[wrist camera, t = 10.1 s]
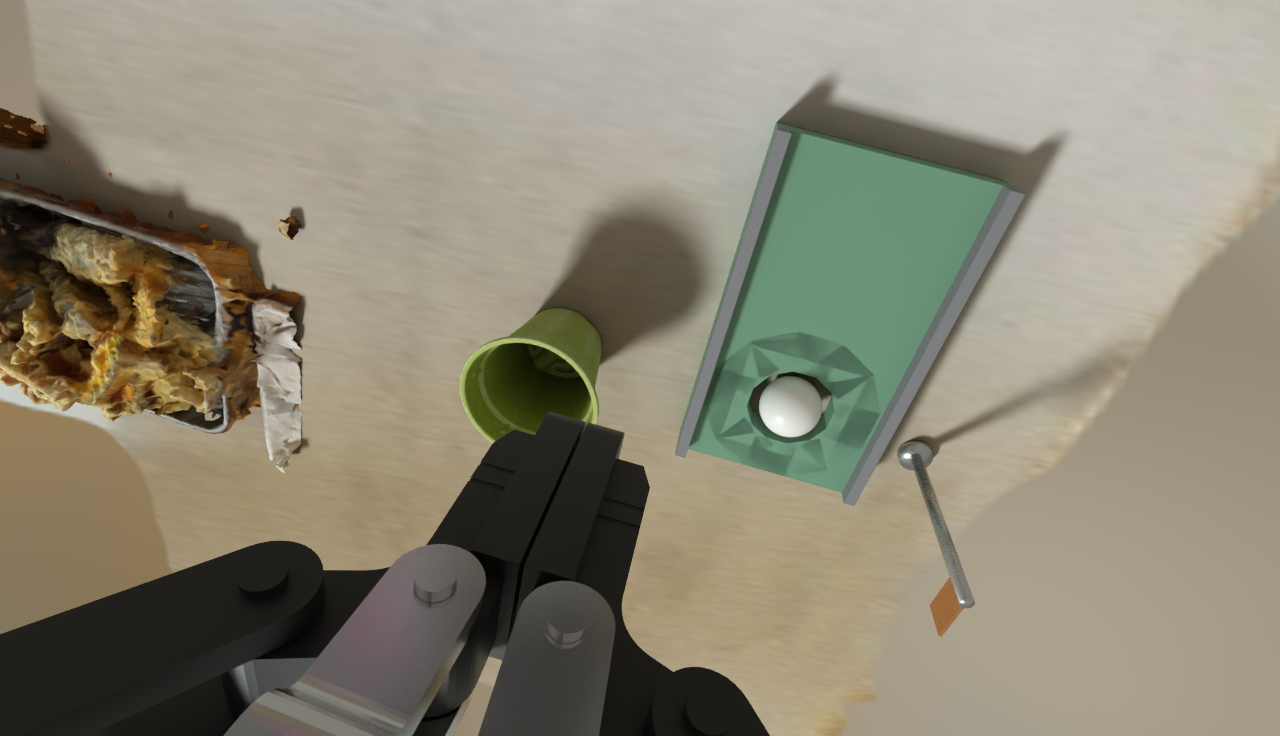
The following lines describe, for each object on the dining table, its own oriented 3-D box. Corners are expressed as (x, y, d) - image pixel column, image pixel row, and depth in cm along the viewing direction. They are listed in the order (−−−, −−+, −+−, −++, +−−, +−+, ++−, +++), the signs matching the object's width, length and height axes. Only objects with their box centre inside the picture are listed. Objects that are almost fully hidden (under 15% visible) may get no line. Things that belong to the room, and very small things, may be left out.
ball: (754, 396, 47) (771, 356, 44) (809, 412, 47) (831, 373, 43) (749, 440, 44) (767, 400, 40) (808, 456, 43) (832, 417, 40)
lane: (776, 122, 37) (777, 130, 34) (1005, 181, 36) (1025, 194, 33) (680, 430, 49) (674, 454, 46) (849, 478, 48) (854, 506, 46)
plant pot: (622, 289, 44) (593, 343, 36) (626, 399, 48) (601, 467, 41) (500, 282, 45) (448, 333, 38) (514, 390, 50) (471, 453, 42)
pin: (905, 436, 46) (956, 583, 34) (937, 445, 45) (998, 595, 33) (881, 479, 48) (920, 631, 36) (911, 487, 48) (960, 643, 36)
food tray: (-28, 336, 59) (-172, 393, 50) (-120, 59, 46) (-339, 67, 37) (307, 458, 59) (224, 537, 50) (310, 215, 46) (198, 262, 37)
